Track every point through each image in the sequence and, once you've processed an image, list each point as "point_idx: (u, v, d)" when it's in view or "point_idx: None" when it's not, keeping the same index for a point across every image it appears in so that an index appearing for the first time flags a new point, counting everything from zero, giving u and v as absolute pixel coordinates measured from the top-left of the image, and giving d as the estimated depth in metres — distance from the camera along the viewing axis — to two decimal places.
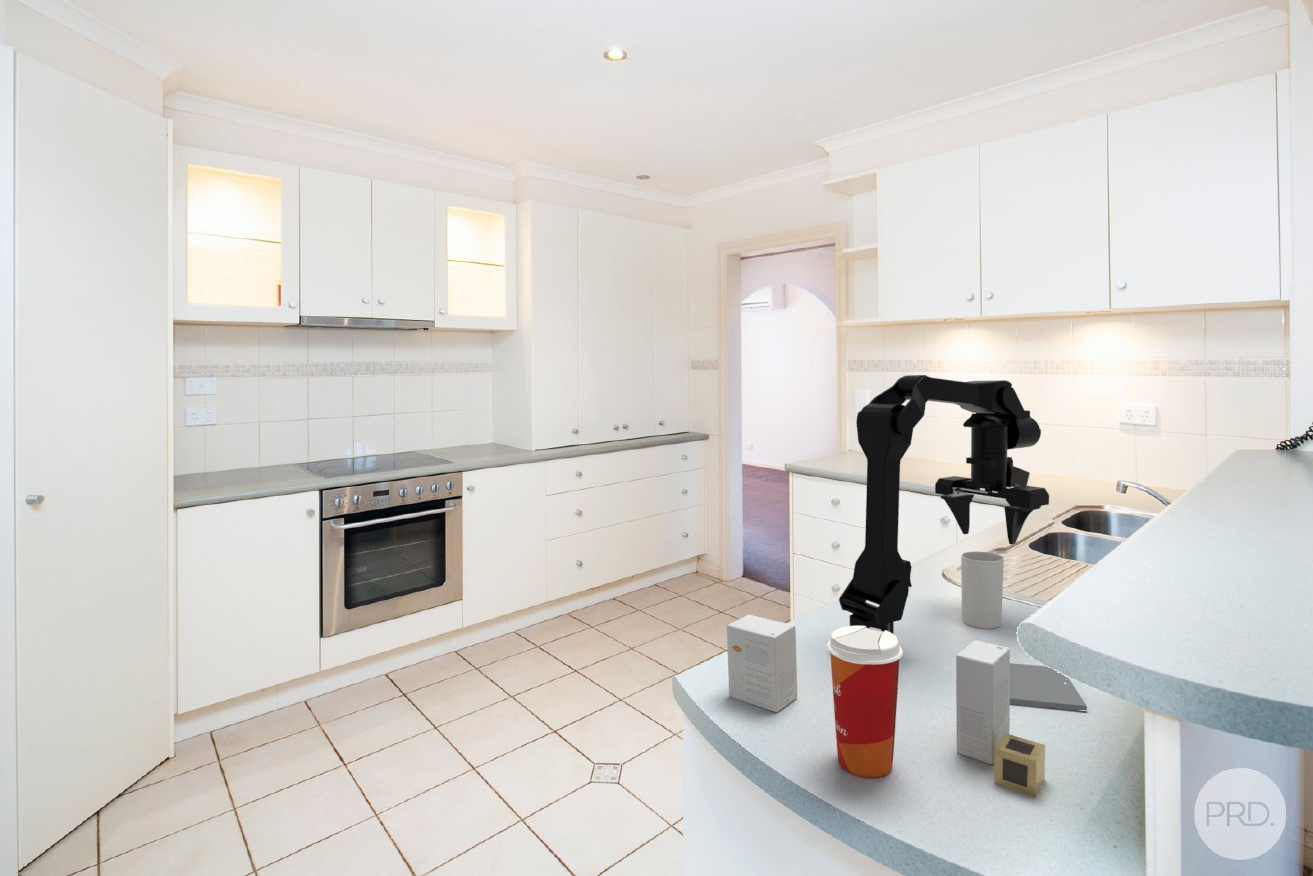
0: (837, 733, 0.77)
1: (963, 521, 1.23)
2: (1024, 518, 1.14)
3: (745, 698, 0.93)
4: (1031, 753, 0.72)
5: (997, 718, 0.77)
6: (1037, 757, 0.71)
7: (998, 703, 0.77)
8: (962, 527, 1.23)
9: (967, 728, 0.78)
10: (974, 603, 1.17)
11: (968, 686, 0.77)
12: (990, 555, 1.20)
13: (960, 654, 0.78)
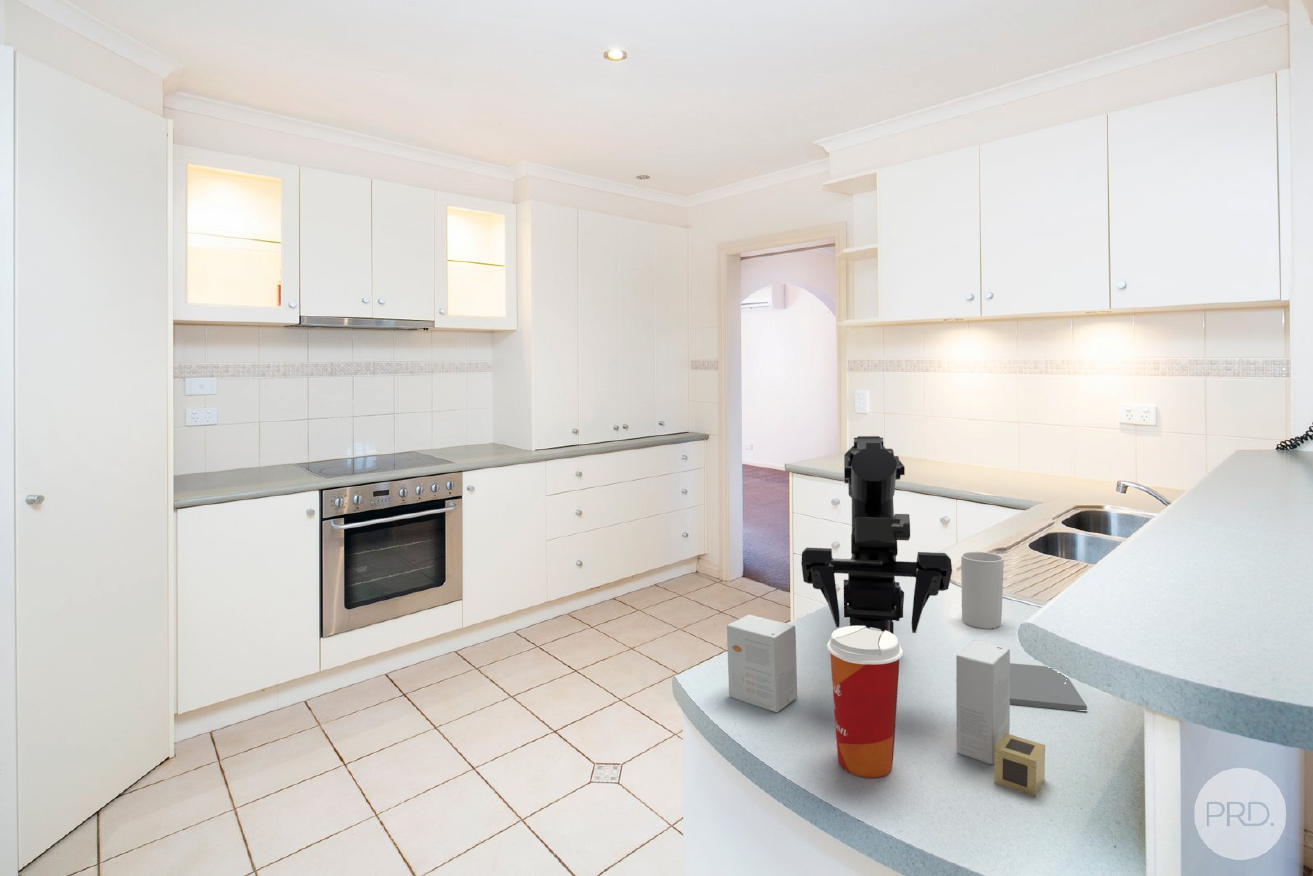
0: (837, 733, 0.77)
1: None
2: None
3: (745, 698, 0.93)
4: (1031, 753, 0.72)
5: (997, 718, 0.77)
6: (1037, 757, 0.71)
7: (998, 703, 0.77)
8: None
9: (967, 728, 0.78)
10: (974, 603, 1.17)
11: (968, 686, 0.77)
12: (990, 555, 1.20)
13: (960, 654, 0.78)
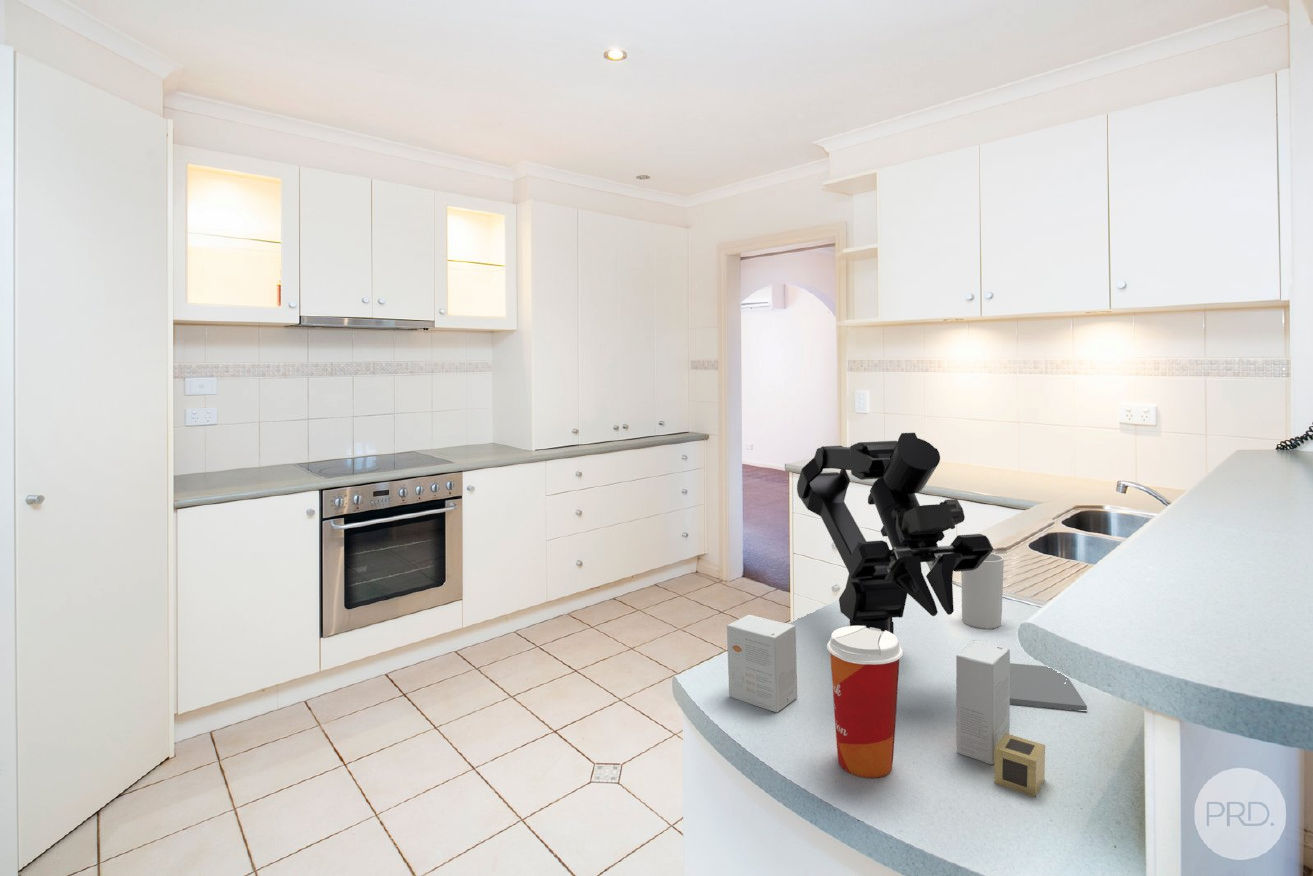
0: (837, 733, 0.77)
1: (940, 598, 0.89)
2: (913, 579, 0.88)
3: (745, 698, 0.93)
4: (1031, 753, 0.72)
5: (997, 718, 0.77)
6: (1037, 757, 0.71)
7: (998, 703, 0.77)
8: (943, 607, 0.88)
9: (967, 728, 0.78)
10: (974, 603, 1.17)
11: (968, 686, 0.77)
12: (990, 555, 1.20)
13: (960, 654, 0.78)
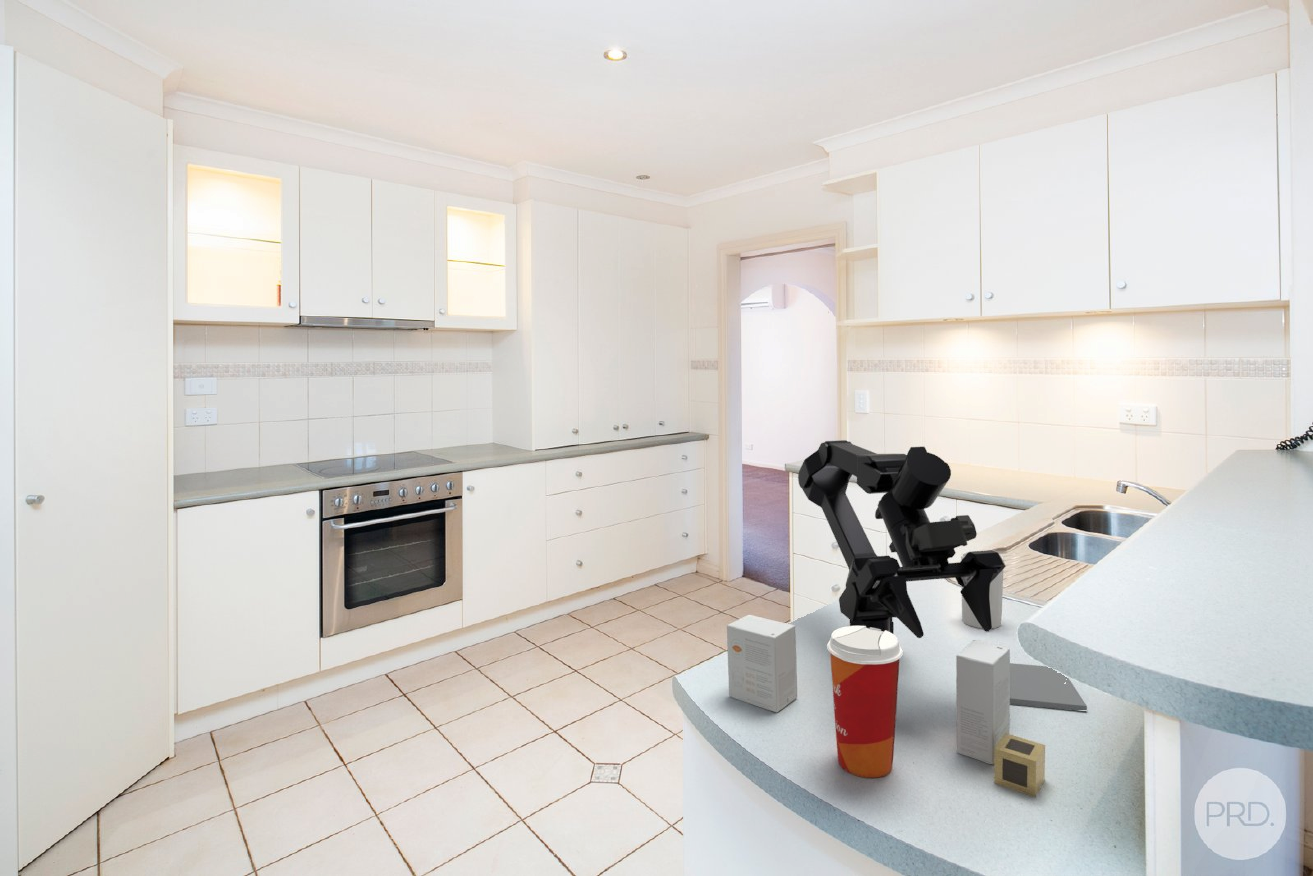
0: (837, 733, 0.77)
1: (977, 615, 0.87)
2: (898, 600, 0.86)
3: (745, 698, 0.93)
4: (1031, 753, 0.72)
5: (997, 718, 0.77)
6: (1037, 757, 0.71)
7: (998, 703, 0.77)
8: None
9: (967, 728, 0.78)
10: None
11: (968, 686, 0.77)
12: None
13: (960, 654, 0.78)
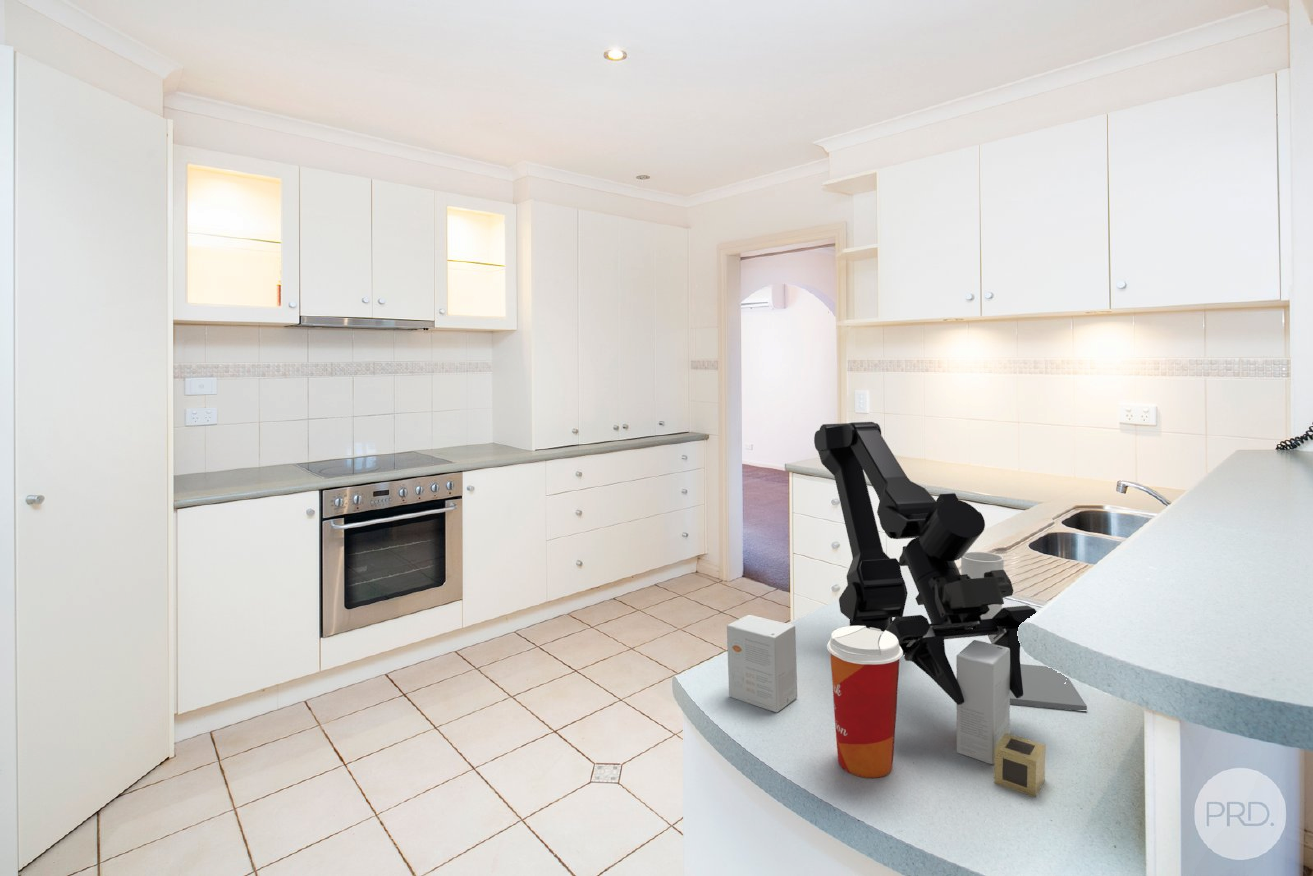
0: (837, 733, 0.77)
1: None
2: (936, 662, 0.79)
3: (745, 698, 0.93)
4: (1031, 753, 0.72)
5: (997, 718, 0.77)
6: (1037, 757, 0.71)
7: (998, 703, 0.77)
8: (1010, 688, 0.80)
9: (967, 728, 0.78)
10: None
11: (968, 686, 0.77)
12: (990, 555, 1.20)
13: (960, 654, 0.78)
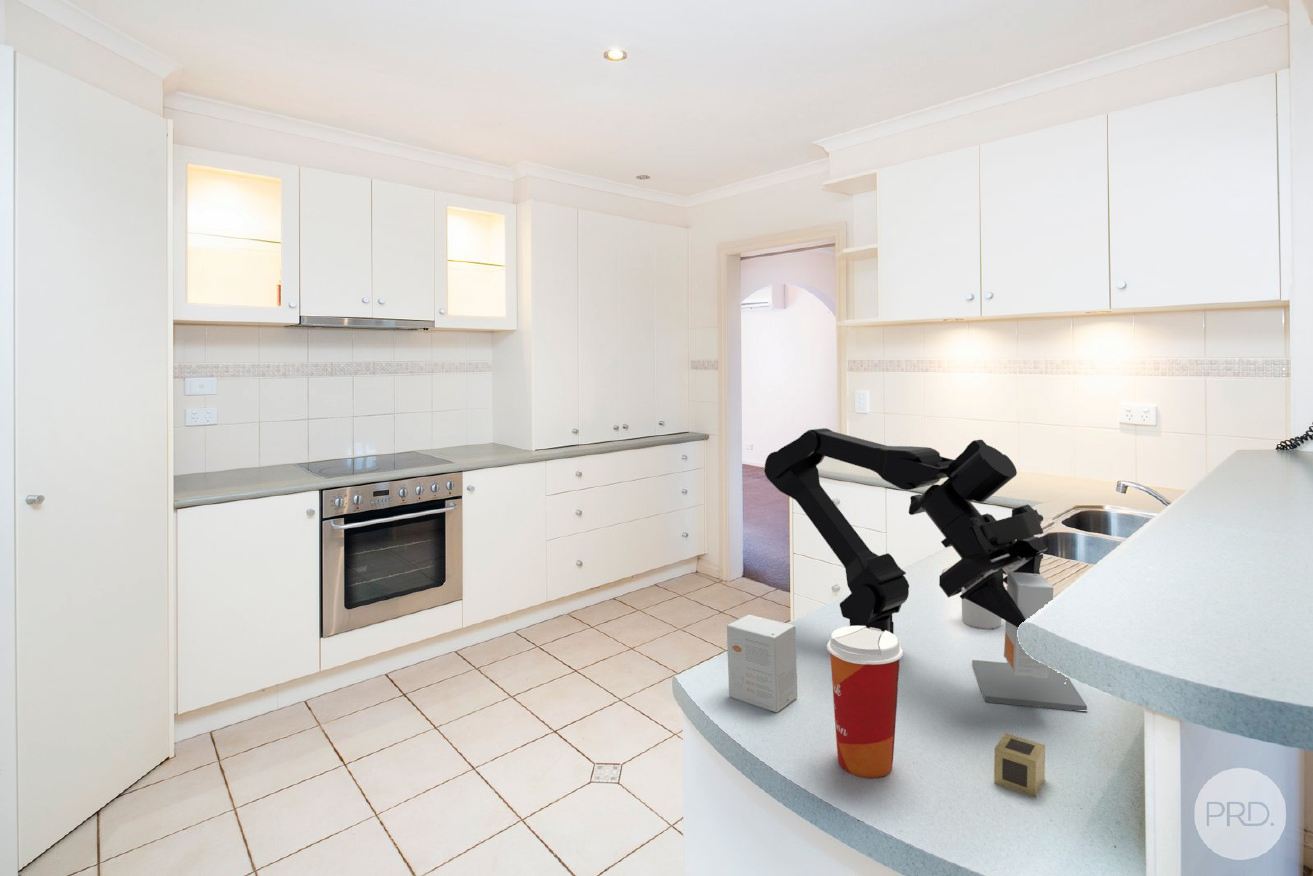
0: (837, 733, 0.77)
1: None
2: (999, 594, 0.85)
3: (745, 698, 0.93)
4: (1031, 753, 0.72)
5: None
6: (1037, 757, 0.71)
7: None
8: None
9: None
10: (974, 603, 1.17)
11: (1028, 611, 0.85)
12: None
13: (1020, 583, 0.85)
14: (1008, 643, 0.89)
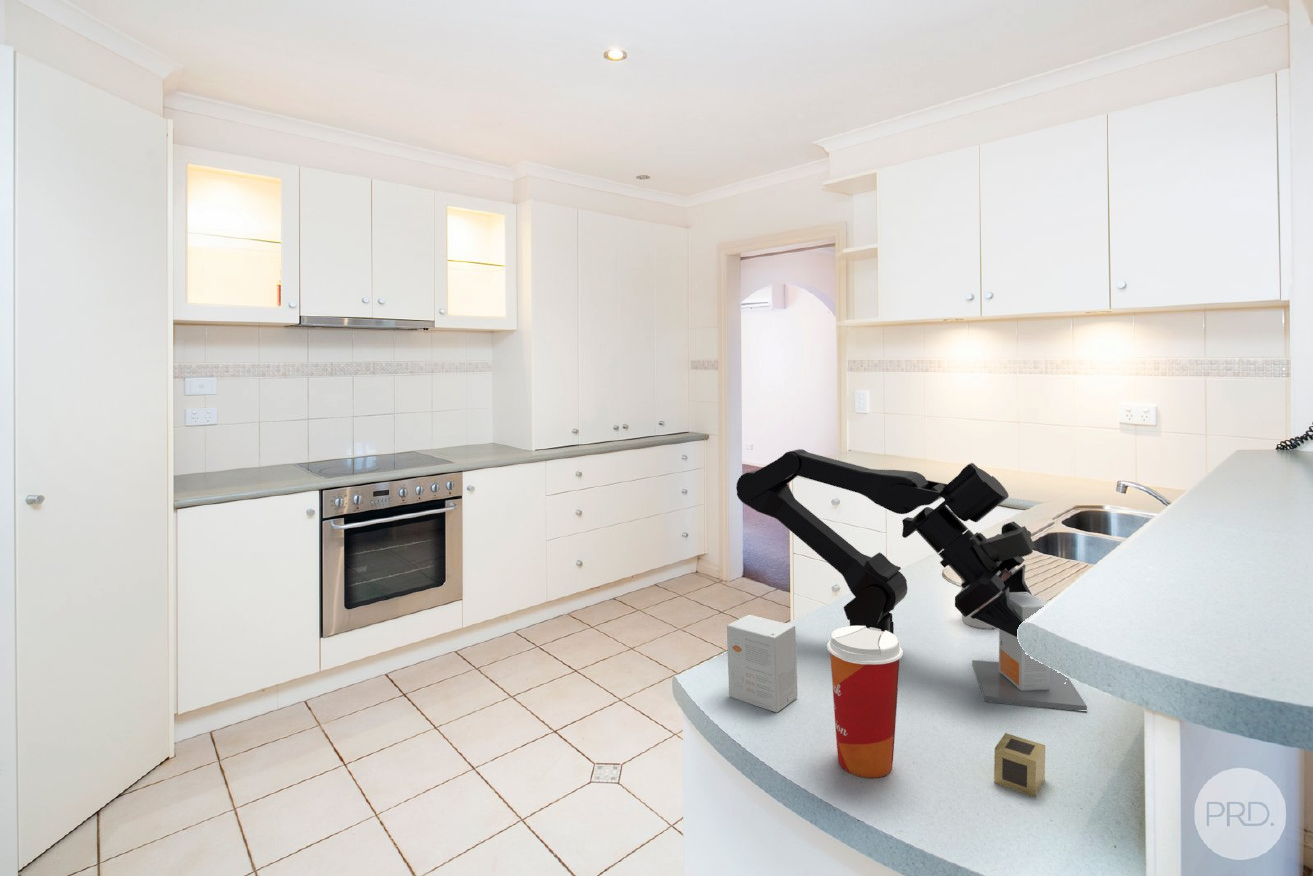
0: (837, 733, 0.77)
1: None
2: (1008, 611, 0.90)
3: (745, 698, 0.93)
4: (1031, 753, 0.72)
5: None
6: (1037, 757, 0.71)
7: None
8: None
9: (1030, 667, 0.92)
10: None
11: None
12: None
13: (1022, 605, 0.91)
14: (1007, 660, 0.95)
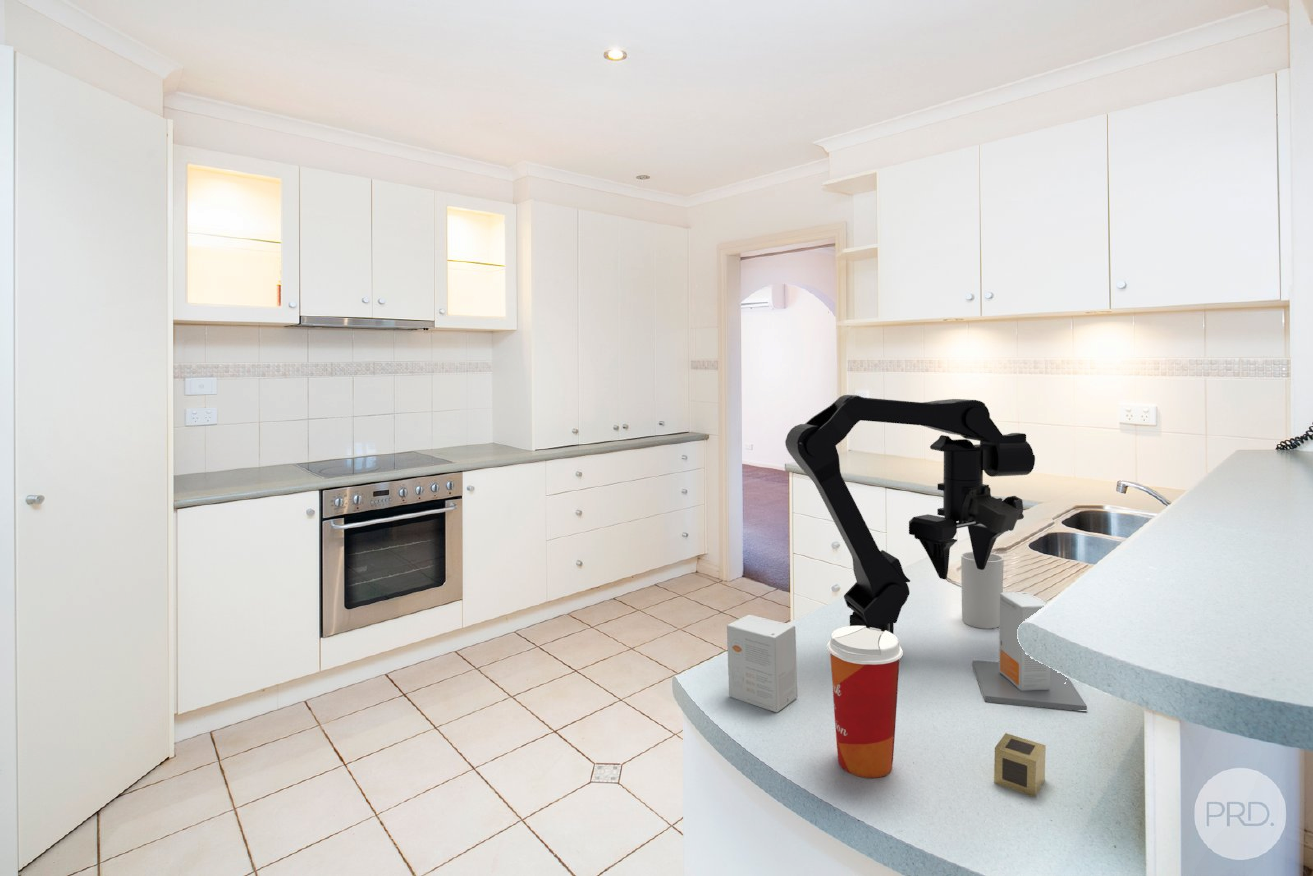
0: (837, 733, 0.77)
1: (976, 553, 1.11)
2: (941, 552, 1.04)
3: (745, 698, 0.93)
4: (1031, 753, 0.72)
5: None
6: (1037, 757, 0.71)
7: None
8: (975, 559, 1.11)
9: (1030, 667, 0.92)
10: (974, 603, 1.17)
11: None
12: (990, 555, 1.20)
13: (1022, 605, 0.91)
14: (1007, 660, 0.95)
